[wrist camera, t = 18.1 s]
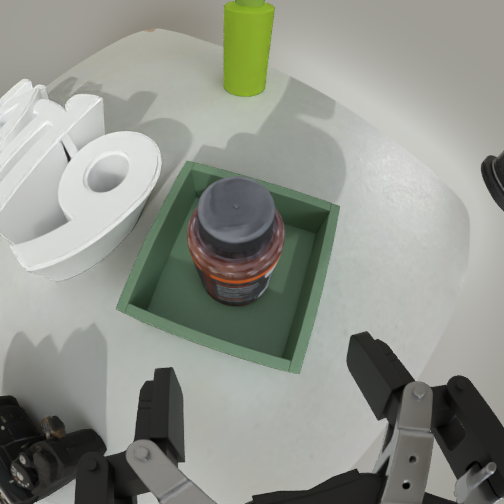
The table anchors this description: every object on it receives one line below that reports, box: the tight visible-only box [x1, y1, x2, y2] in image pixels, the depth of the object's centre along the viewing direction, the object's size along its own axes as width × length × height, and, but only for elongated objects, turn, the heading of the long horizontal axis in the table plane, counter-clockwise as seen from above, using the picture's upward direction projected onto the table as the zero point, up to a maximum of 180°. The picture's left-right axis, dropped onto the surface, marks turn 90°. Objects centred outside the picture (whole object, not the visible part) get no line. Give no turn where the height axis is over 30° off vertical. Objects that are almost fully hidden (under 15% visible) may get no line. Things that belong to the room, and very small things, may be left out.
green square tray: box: [116, 161, 340, 374], centre depth 23 cm, size 14×14×5 cm
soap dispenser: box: [224, 0, 275, 96], centre depth 26 cm, size 6×7×20 cm
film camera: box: [0, 395, 107, 504], centre depth 13 cm, size 18×12×10 cm
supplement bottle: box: [187, 176, 285, 306], centre depth 19 cm, size 6×6×11 cm
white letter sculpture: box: [0, 79, 162, 282], centre depth 23 cm, size 35×16×11 cm, turn 54°
